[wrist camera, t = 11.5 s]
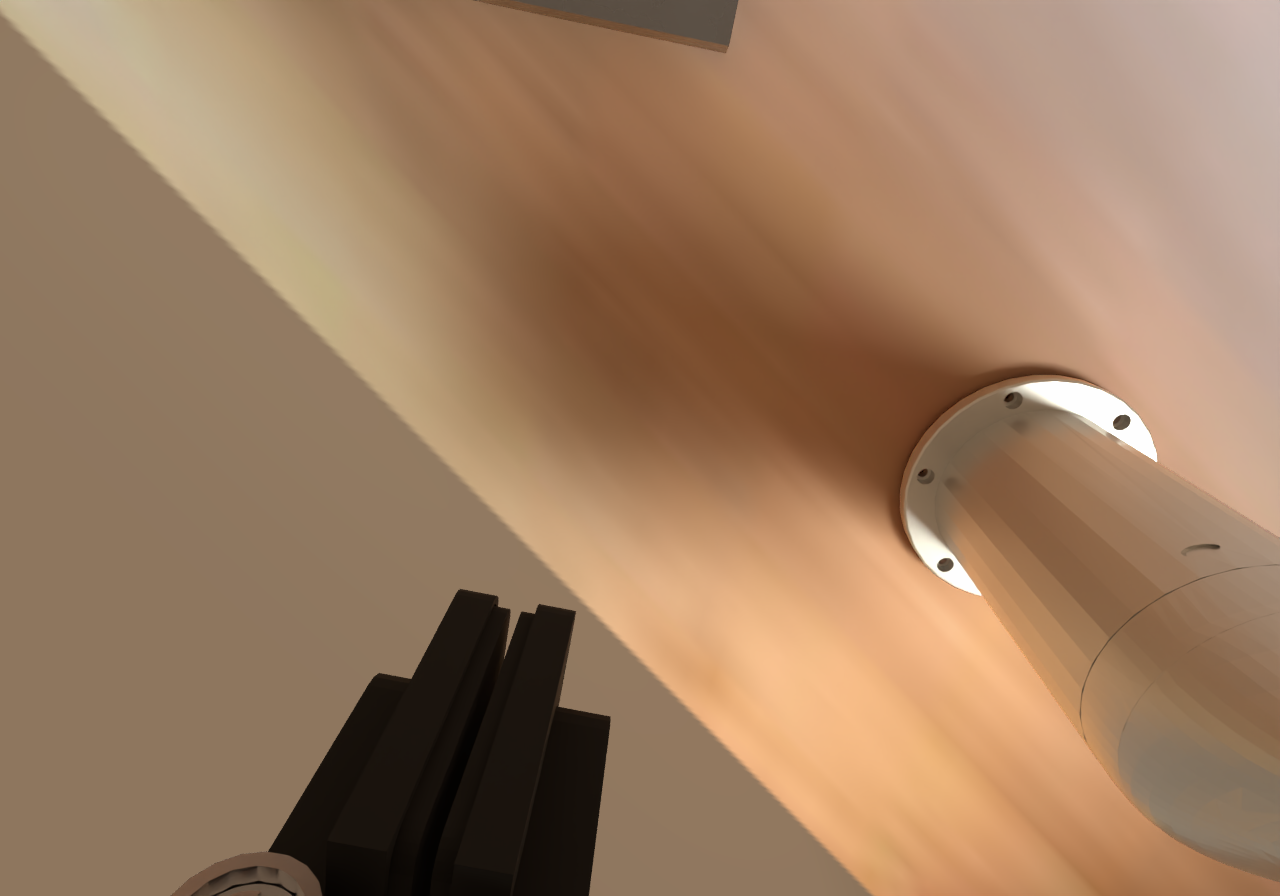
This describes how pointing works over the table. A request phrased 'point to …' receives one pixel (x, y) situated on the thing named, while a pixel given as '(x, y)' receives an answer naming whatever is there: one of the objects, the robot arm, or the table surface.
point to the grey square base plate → (645, 17)
